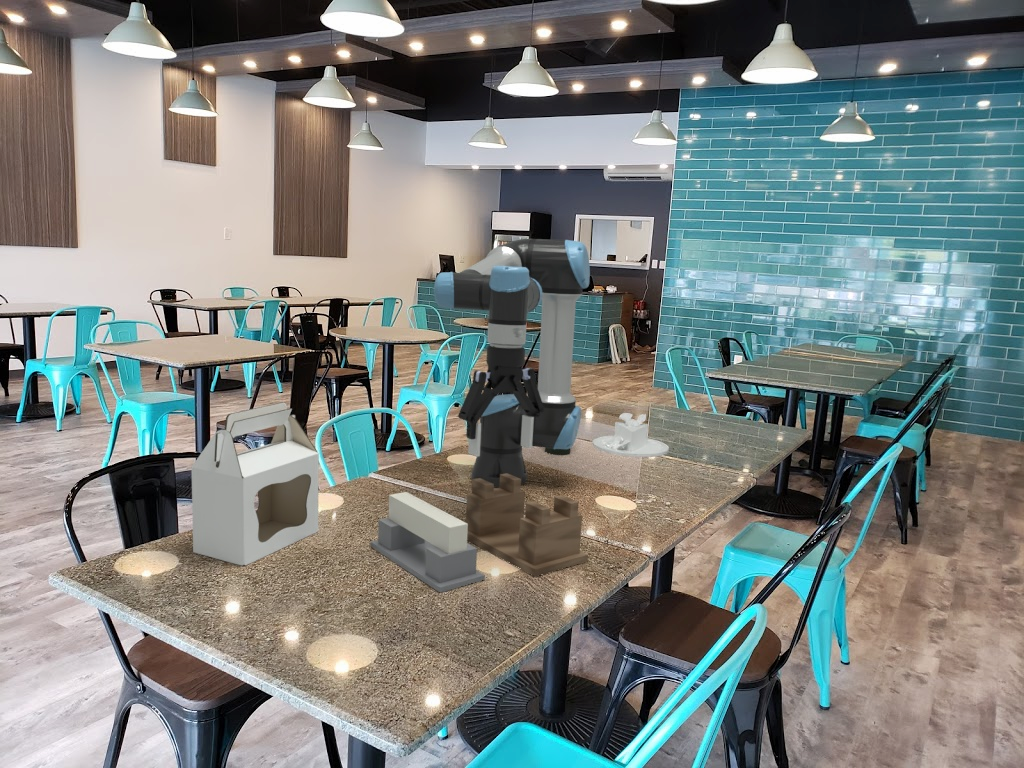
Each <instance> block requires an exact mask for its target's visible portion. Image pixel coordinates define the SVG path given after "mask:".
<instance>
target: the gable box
mask: <svg viewBox="0 0 1024 768" xmlns="http://www.w3.org/2000/svg"><path fill="white" fill-rule="evenodd" d="M292 410H293V408H288V405H287V403H285V402H283V401H282V402H278V403H273V404H268V405H263V406H259V407H254V408H249V409H246V410H240V411H235V412H231V413H228V414H227V416H226V417H225V423H224V429H219V430H217V431H215V433H214V435H213V436H212V437H211V439H210V440H209V441H208V443H207V445H206V446H205V447H204V449H203V450H202V452H201V453H200V454H199V456H198V457H197V459H196V461H194V463H193V464H192V466H191V499H192V500H191V505H192V506H191V507H192V509H191V510H192V548H193V549H192V551H193V553H195V554H198V555H201V556H205V557H209V558H213V559H216V560H219V561H224V562H227V563H230V564H234V565H238V566H242V567H246V566H248V565H250V564H252V563H255V562H256V561H259V560H261V559H263V558H265V557H267V556H269V555H271V554H273V553H275V552H278V551H280V550H282V549H284V548H286V547H288V546H290V545H292V544H295V543H296V542H300V541H301V540H303V539H305V538H307V537H310V536H312V535H314V534H316V533H318V532H319V479H320V478H319V476H320V475H319V465H320V463H319V462H320V461H319V460H320V459H319V457H320V453H319V452H318V450H317V448H316V447H315V446H314V444H313V443H312V441H311V439H310V438H309V437H308V435H307V434H306V432H305V431H304V429H303V427H302V426H301V424H300V422H299V421H298V420H297V418H296V414H291V412H292ZM274 427H276V429H275V432H274V434H273V437H272V440H271V443H269V444H265V445H262V446H258V447H255V448H251V449H247V450H244V451H239V452H238V453H237V449H236V446H235V441H234V438H236V437H239V436H242V435H246V434H250V433H254V432H259V431H262V430H266V429H270V428H274ZM256 495H257V497H258V498H257V499H258V506H257V509H256V508H255V498H256Z"/></svg>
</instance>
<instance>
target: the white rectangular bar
mask: <svg viewBox="0 0 1024 768" xmlns="http://www.w3.org/2000/svg"><path fill="white" fill-rule="evenodd" d="M388 518H389V519H390V520H392V521H394V522H395V523H397V524H399V525H400V526H402V527H404V528H406V529H407V530H409V531H411V532H412V533H414V534H416V535H417V536H419V537H421V538H423V539H424V540H426V541H428V542H429V543H431V544H433V545H434V546H436V547H438V548H440V549H441V550H443V551H445V552H446V553H448V554H451V553H455V552H459V551H463V550H467V543H468V540H467V532H468V524H467V523H466V521H463V520H461V519H460V518H458V517H456V516H453V515H452V514H450V513H447V512H446V511H444V510H442V509H440V508H438V507H436V506H434V505H432V504H431V503H429V502H426V501H424V500H422V499H420V498H418V497H416V496H415V495H412V494H411V493H409V492H407V491H403V492H398V493H393V494H389V495H388Z"/></svg>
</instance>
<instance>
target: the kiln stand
mask: <svg viewBox="0 0 1024 768" xmlns="http://www.w3.org/2000/svg"><path fill="white" fill-rule="evenodd" d="M377 530H378V534H377V535H378V538H377V539H376V540H371V541H369V544H370V545H369V547H371V548H372V549H374V551H375V550H376V551H377V552H378V553H380V554H382V555H383V556H384V557H385V558H387V559H389V561H391V562H393V563H395V564H396V565H397V566H399V567H400V568H402V569H403V570H405V571H407V572H408V573H410V574H411V575H413V576H414V577H415V578H417V579H419V580H420V581H422V582H423V583H424V584H426V585H428V586H429V587H431V588H432V589H433V590H435V591H436V592H438V593H439V592H440V593H444V592H448V591H452V590H455V589H460V588H462V587H461V586H463V587H466V586H468V585H467V584H470V585H472V584H471V583H473V584H476V583H475V582H477V583H479V581H480V582H483V581H482V580H484V581H485V580H486V575H485V574H484V573H481V571H479V570H477V560H478V559H477V556H478V548H477V547H475V546H474V545H472V544H470V543H468V542H467V550H463V551H459V552H455V553H451V554H448V553H446V552H445V551H443V550H441V549H440V548H438V547H436V546H434V545H433V544H431V543H429V542H428V541H426V540H424V539H423V538H421V537H419V536H417V535H416V534H414V533H412V532H411V531H409V530H407V529H406V528H404V527H402V526H400V525H399V524H397V523H395V522H394V521H392V520H390V519H389V517H385V518H380V519H378V529H377ZM465 585H466V586H465ZM451 589H452V590H451Z"/></svg>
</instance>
